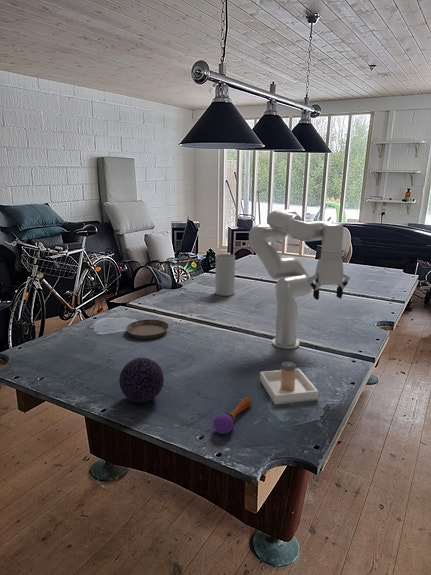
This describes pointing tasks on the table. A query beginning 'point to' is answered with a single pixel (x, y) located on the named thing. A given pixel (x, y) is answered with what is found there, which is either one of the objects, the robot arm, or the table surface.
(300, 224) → the robot arm
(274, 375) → the tray
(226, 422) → the brown purple handled piece
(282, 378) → the cylinder
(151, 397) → the toy ball
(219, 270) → the cylinder vase
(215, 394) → the table surface
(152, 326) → the plant saucer
